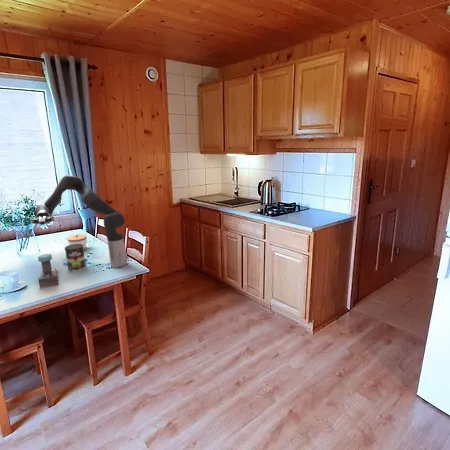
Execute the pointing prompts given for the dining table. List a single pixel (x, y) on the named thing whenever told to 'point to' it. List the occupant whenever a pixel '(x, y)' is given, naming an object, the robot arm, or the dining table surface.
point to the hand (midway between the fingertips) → (42, 222)
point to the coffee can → (75, 257)
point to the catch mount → (48, 279)
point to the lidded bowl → (78, 240)
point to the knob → (46, 263)
